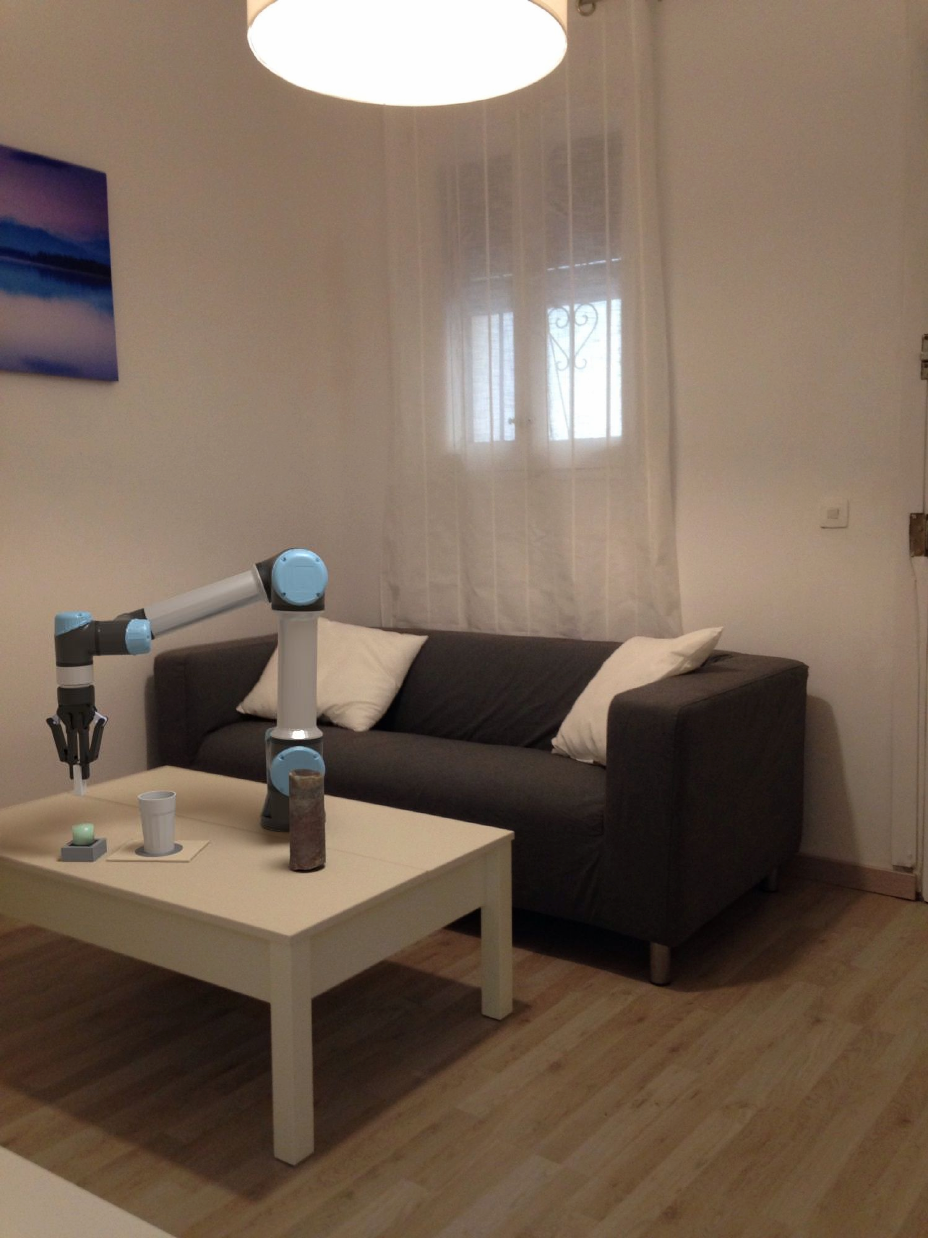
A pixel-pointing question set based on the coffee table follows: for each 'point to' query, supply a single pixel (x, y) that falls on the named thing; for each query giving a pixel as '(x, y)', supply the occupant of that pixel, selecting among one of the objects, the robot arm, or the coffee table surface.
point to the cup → (158, 820)
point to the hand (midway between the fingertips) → (80, 794)
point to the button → (83, 834)
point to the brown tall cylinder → (306, 819)
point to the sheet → (135, 853)
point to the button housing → (83, 851)
